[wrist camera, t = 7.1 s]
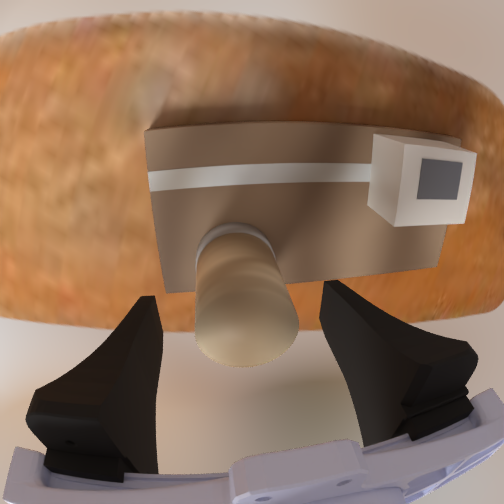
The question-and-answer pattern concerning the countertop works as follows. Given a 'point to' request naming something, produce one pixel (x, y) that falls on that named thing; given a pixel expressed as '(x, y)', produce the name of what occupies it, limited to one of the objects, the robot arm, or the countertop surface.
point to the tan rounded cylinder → (241, 298)
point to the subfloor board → (280, 198)
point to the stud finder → (420, 181)
